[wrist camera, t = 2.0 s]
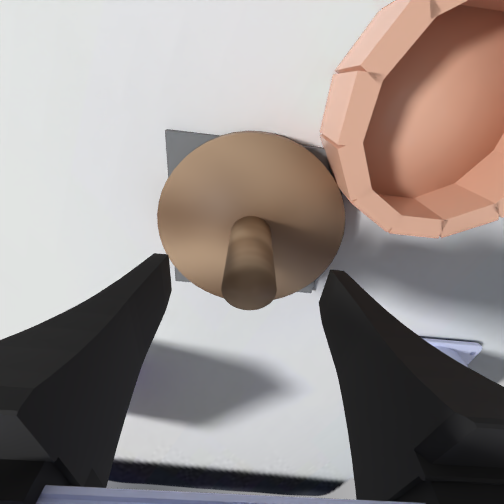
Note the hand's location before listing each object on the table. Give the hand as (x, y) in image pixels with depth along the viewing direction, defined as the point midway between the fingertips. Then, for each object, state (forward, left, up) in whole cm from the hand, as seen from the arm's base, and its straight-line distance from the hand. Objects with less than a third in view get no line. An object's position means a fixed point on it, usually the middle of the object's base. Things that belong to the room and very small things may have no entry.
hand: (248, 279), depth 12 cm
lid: (0, 0, -5) cm, 5 cm away
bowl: (+7, -8, -6) cm, 12 cm away
